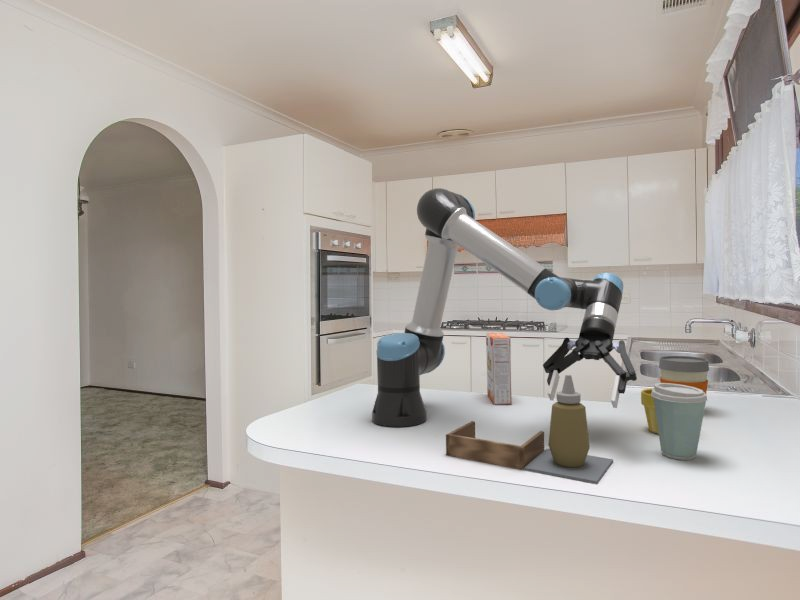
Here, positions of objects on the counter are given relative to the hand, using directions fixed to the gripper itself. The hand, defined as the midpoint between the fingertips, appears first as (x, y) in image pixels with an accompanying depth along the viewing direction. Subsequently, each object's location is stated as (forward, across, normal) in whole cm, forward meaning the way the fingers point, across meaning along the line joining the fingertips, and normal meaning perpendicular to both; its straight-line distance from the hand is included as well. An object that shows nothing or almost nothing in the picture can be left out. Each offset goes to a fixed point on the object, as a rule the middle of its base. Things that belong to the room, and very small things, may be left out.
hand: (581, 400), depth 114 cm
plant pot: (-11, -13, -27) cm, 32 cm away
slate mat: (+15, 0, -2) cm, 15 cm away
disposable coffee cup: (+2, -18, -15) cm, 23 cm away
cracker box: (-19, +37, -35) cm, 54 cm away
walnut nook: (+15, +16, -1) cm, 22 cm away
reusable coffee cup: (-28, -14, -44) cm, 54 cm away
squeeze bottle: (+14, 0, -1) cm, 14 cm away
